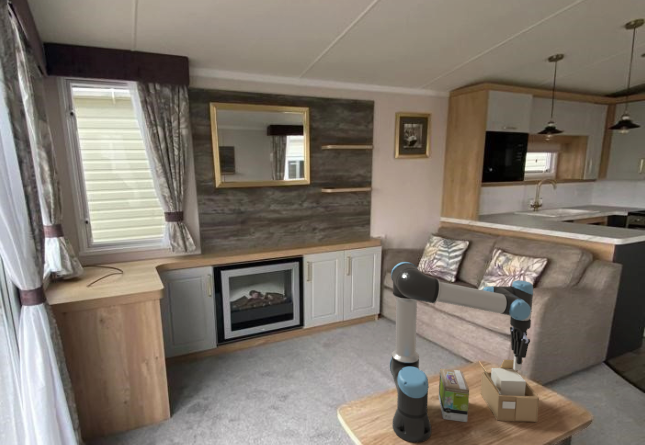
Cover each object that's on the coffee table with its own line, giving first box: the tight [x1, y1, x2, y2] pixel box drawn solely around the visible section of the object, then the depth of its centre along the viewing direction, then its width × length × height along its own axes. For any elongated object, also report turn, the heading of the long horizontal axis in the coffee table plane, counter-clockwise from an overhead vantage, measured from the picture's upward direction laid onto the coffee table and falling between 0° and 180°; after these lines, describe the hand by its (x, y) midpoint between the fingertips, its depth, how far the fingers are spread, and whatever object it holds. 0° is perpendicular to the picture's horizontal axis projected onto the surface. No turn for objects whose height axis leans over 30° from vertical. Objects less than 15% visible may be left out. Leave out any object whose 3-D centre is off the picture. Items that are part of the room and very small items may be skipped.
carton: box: [480, 367, 540, 423], centre depth 149 cm, size 16×19×15 cm
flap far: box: [499, 359, 524, 372], centre depth 154 cm, size 10×8×1 cm
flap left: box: [478, 360, 499, 392], centre depth 147 cm, size 10×9×1 cm
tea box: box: [438, 368, 470, 423], centre depth 149 cm, size 15×10×15 cm
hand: (517, 369), depth 148 cm, fingers closed
